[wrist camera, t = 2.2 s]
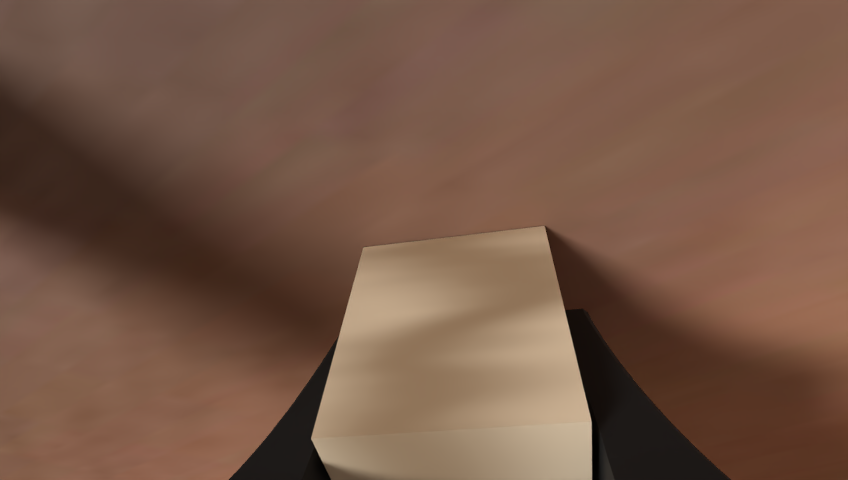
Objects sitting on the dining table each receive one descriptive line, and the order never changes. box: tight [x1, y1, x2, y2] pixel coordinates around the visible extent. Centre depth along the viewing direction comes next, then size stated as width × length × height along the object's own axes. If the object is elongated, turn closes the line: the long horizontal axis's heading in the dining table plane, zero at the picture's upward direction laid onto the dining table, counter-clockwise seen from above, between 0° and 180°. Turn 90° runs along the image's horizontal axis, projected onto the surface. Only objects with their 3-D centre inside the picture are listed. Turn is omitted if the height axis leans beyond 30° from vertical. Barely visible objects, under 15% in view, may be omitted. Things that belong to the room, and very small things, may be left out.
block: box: [311, 226, 592, 480], centre depth 12 cm, size 4×4×6 cm
